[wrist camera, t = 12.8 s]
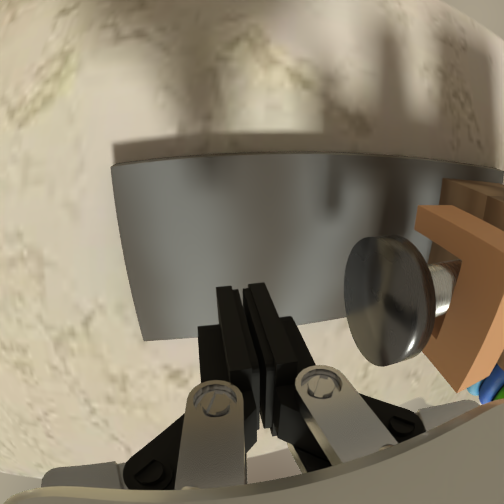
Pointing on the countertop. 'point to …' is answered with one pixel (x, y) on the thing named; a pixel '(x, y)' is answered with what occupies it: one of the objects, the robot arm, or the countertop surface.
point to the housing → (275, 226)
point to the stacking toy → (489, 386)
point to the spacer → (467, 295)
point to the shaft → (394, 297)
